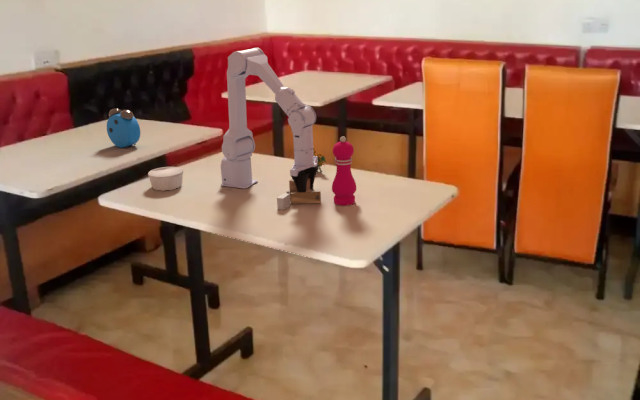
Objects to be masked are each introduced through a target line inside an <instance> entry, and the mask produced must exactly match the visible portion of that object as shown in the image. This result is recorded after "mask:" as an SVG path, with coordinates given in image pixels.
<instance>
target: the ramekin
mask: <svg viewBox="0 0 640 400" xmlns="http://www.w3.org/2000/svg"><path fill="white" fill-rule="evenodd" d="M183 174H184V169H183V168H182V167H180V166H179V167H178V166H164V167H163V166H162V167H157V168H154V169H151V170H150V171H148V173H147V176H148V178H149V182H150V184H151V187H152V189H153V190H155V191H158V190H161V191H160V192H165V191H164V190H169V191H173V189H174V190H177V189H179V188H180V187H182V185H183V178H184V177H183ZM176 188H177V189H176Z"/></svg>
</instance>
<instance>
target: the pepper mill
mask: <svg viewBox="0 0 640 400" xmlns="http://www.w3.org/2000/svg"><path fill="white" fill-rule="evenodd" d="M354 150H355V149H354V147H353V145H352V143H351V142H349V141H347V138H346V137H345V136H341V137H340V138H339V141H338V142H336V143H334V144H333V148H332V154H333V156H334V157H335V158H334V164H336V166H335V167H336V173H335V175H334V179H333V180H332V181H333V182H332V183H331V184H332V185H331V192H332V194H334V196H333V203H334V204H335V205H337V206H351V205H353V204H354V203H356V196H355V193H356V191H357V184H356V180H355V178H354V176H353V173H352V168H351V166H352V163H353V158H352V156H353V155H354Z"/></svg>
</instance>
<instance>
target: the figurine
mask: <svg viewBox="0 0 640 400" xmlns="http://www.w3.org/2000/svg"><path fill="white" fill-rule="evenodd" d="M313 154H314V156H317V157H318V163H317V166H319V169H318V171H317V173H319V172H323V170H322V168H321V167H323V166H325V164H324V163H325V162H327V161H326V157H325V155H324V154H322V153H321V152H319V153H317V151H316V150H315V147H314V146H313ZM317 173H316V174H317Z"/></svg>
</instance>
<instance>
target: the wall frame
mask: <svg viewBox="0 0 640 400" xmlns="http://www.w3.org/2000/svg"><path fill="white" fill-rule="evenodd" d="M276 202H277V203H276V204H277V207H276V208H277V210H280V211H281V210H284V211H285V210H287V208H288V207H290V206H291V199H290V190H287V191H286V193H282V194H280V195H279V196H278V197H276Z"/></svg>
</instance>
